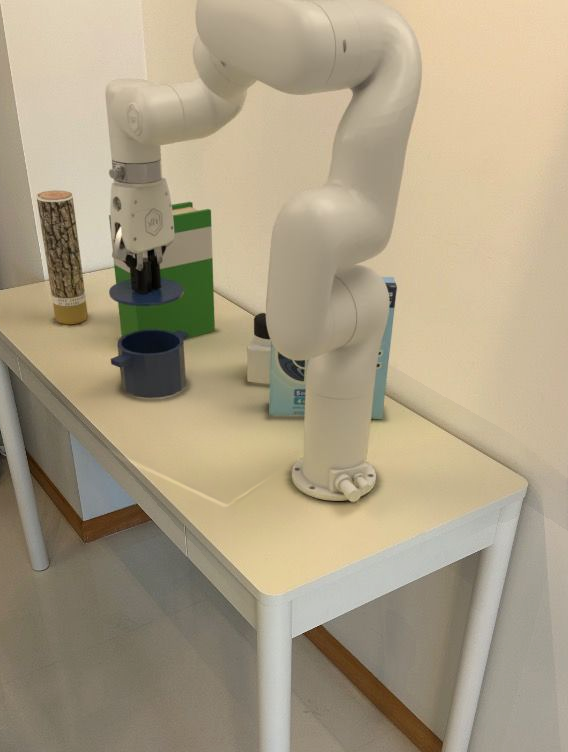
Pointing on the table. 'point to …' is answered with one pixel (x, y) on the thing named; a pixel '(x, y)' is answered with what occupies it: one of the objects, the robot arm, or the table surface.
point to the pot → (152, 362)
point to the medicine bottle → (259, 352)
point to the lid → (154, 296)
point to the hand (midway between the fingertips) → (146, 288)
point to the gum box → (292, 373)
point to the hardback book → (178, 279)
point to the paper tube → (62, 256)
